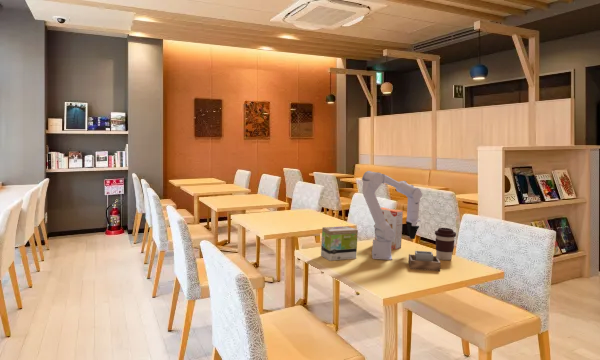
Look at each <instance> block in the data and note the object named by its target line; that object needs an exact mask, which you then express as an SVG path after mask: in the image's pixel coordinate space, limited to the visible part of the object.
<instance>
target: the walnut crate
mask: <svg viewBox="0 0 600 360" xmlns="http://www.w3.org/2000/svg"><path fill="white" fill-rule="evenodd" d="M408 266H409V268H410V270H416V271H417V270H418V271H432V272H440V271H441V261H440V259H438V258H437V256H436V255H433V262H431V261H416V260H415V254H410V253H409V254H408Z"/></svg>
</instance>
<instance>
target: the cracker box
mask: <svg viewBox="0 0 600 360" xmlns="http://www.w3.org/2000/svg"><path fill="white" fill-rule="evenodd" d="M380 208H381V210H382V213H383V215H384V218H385V220H386V222H387V223H388V224H389V225H390V227H391V228H392V229H393V230H394V232H395V237H394V239H393V240H392V244H391V250H398V249H399V250H400V249H401V248H402V238H403V235H402V233H403V215H404V214H403V212H404V211H403V210H399V209H394V208H389V207H381V206H380ZM376 239H377V236H376V235H375V234H374V240H376Z"/></svg>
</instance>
